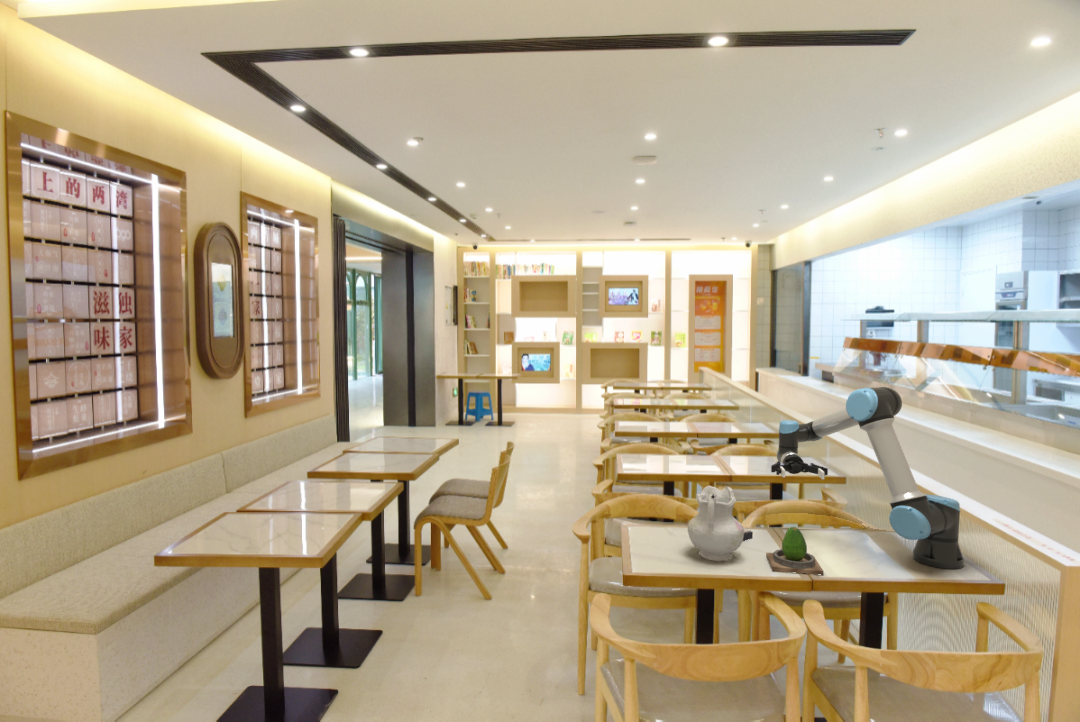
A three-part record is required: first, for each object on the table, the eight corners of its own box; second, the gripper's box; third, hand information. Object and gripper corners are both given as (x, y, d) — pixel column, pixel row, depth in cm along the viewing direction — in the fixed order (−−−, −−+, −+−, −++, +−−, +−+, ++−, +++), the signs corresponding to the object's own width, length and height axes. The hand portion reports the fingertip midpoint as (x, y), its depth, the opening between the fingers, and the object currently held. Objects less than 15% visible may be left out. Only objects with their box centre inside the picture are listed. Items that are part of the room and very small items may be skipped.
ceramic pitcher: (744, 573, 210) (752, 501, 208) (686, 564, 213) (693, 493, 212) (737, 551, 231) (744, 485, 229) (684, 543, 235) (691, 478, 233)
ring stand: (813, 560, 219) (814, 550, 219) (823, 575, 205) (823, 565, 205) (766, 556, 222) (766, 546, 222) (772, 571, 209) (772, 561, 208)
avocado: (778, 561, 214) (779, 527, 213) (786, 555, 219) (787, 522, 219) (802, 567, 208) (803, 532, 208) (809, 561, 214) (810, 527, 214)
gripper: (825, 473, 247) (839, 486, 226) (759, 470, 252) (767, 482, 231) (825, 455, 247) (840, 466, 226) (760, 452, 252) (768, 463, 231)
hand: (803, 474), depth 229 cm, fingers open, 13 cm apart
